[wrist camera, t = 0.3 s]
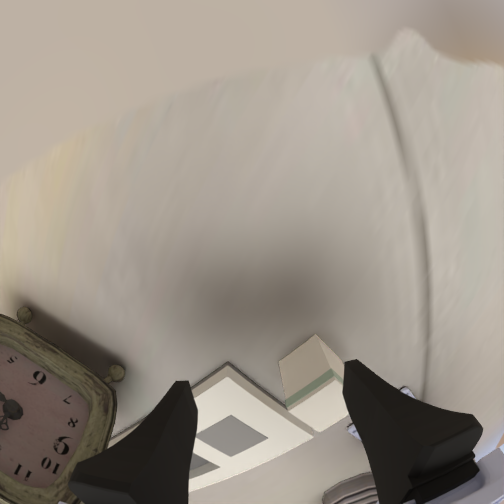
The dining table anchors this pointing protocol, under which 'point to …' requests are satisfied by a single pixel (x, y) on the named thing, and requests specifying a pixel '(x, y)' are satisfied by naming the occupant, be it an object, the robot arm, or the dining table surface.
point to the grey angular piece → (353, 491)
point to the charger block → (314, 384)
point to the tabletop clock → (48, 415)
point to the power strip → (236, 427)
